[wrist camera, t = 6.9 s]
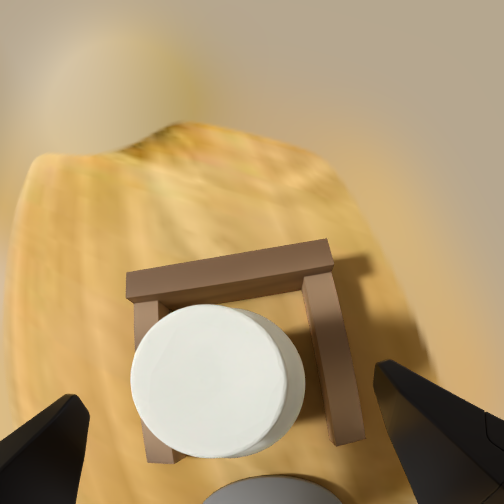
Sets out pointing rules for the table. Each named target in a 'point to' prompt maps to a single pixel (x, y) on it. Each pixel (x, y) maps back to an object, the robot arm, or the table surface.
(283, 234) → the table surface
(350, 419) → the housing rails
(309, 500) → the rubber pad
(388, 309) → the table surface
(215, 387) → the supplement bottle
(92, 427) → the table surface
